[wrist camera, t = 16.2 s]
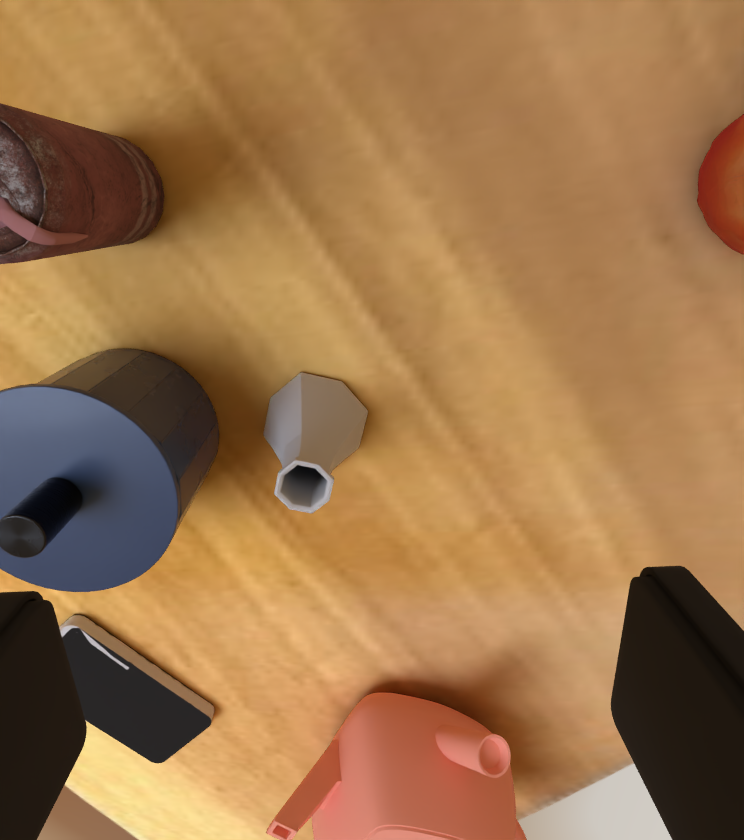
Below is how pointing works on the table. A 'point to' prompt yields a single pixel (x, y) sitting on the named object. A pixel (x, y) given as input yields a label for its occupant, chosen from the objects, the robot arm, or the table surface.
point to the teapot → (406, 778)
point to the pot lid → (80, 490)
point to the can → (70, 188)
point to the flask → (312, 437)
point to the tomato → (725, 186)
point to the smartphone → (131, 693)
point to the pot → (155, 407)
